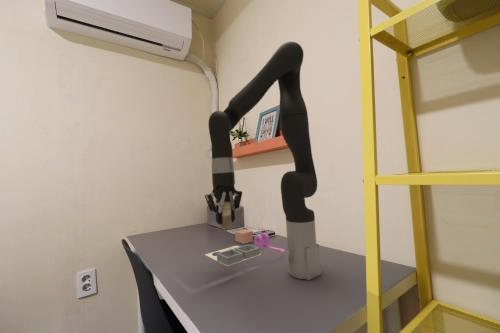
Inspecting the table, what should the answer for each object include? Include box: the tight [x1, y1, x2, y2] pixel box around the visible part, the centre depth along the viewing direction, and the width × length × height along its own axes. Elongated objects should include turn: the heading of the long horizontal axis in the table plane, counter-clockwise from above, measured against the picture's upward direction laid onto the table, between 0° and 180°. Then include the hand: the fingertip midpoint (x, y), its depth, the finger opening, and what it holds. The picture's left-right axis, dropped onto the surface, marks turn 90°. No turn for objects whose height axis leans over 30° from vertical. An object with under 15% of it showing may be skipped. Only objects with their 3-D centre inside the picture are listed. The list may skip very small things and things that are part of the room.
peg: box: [219, 202, 233, 229], centre depth 78 cm, size 4×4×8 cm
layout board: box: [204, 243, 262, 267], centre depth 93 cm, size 17×16×4 cm
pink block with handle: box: [253, 232, 286, 253], centre depth 98 cm, size 13×6×7 cm, turn 47°
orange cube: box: [234, 228, 254, 244], centre depth 110 cm, size 6×6×6 cm
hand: (225, 222), depth 78 cm, fingers closed on peg, 4 cm apart
